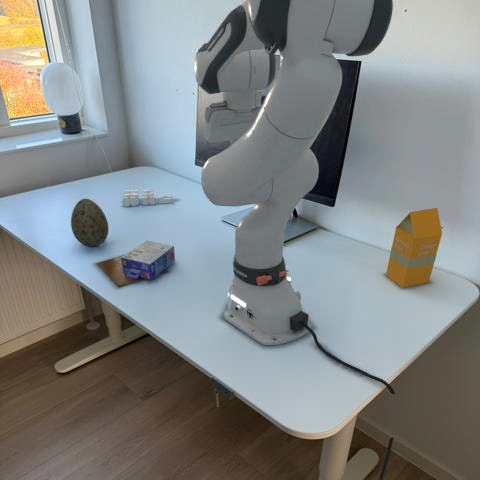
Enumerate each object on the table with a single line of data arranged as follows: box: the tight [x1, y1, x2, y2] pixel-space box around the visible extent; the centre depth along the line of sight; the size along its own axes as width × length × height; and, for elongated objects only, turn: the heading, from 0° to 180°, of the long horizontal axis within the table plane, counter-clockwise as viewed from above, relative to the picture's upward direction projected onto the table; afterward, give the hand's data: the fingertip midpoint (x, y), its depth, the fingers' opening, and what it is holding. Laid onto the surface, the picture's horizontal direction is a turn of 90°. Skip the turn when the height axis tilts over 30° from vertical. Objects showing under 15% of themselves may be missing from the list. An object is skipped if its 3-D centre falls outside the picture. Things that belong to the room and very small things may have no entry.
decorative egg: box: [70, 198, 109, 248], centre depth 141 cm, size 11×11×15 cm
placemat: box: [96, 254, 169, 288], centre depth 133 cm, size 15×16×1 cm
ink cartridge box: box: [121, 239, 176, 281], centre depth 130 cm, size 10×6×14 cm
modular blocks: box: [122, 188, 173, 208], centre depth 175 cm, size 20×7×4 cm, turn 102°
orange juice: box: [385, 207, 443, 289], centre depth 122 cm, size 8×9×20 cm
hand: (239, 155), depth 125 cm, fingers closed
